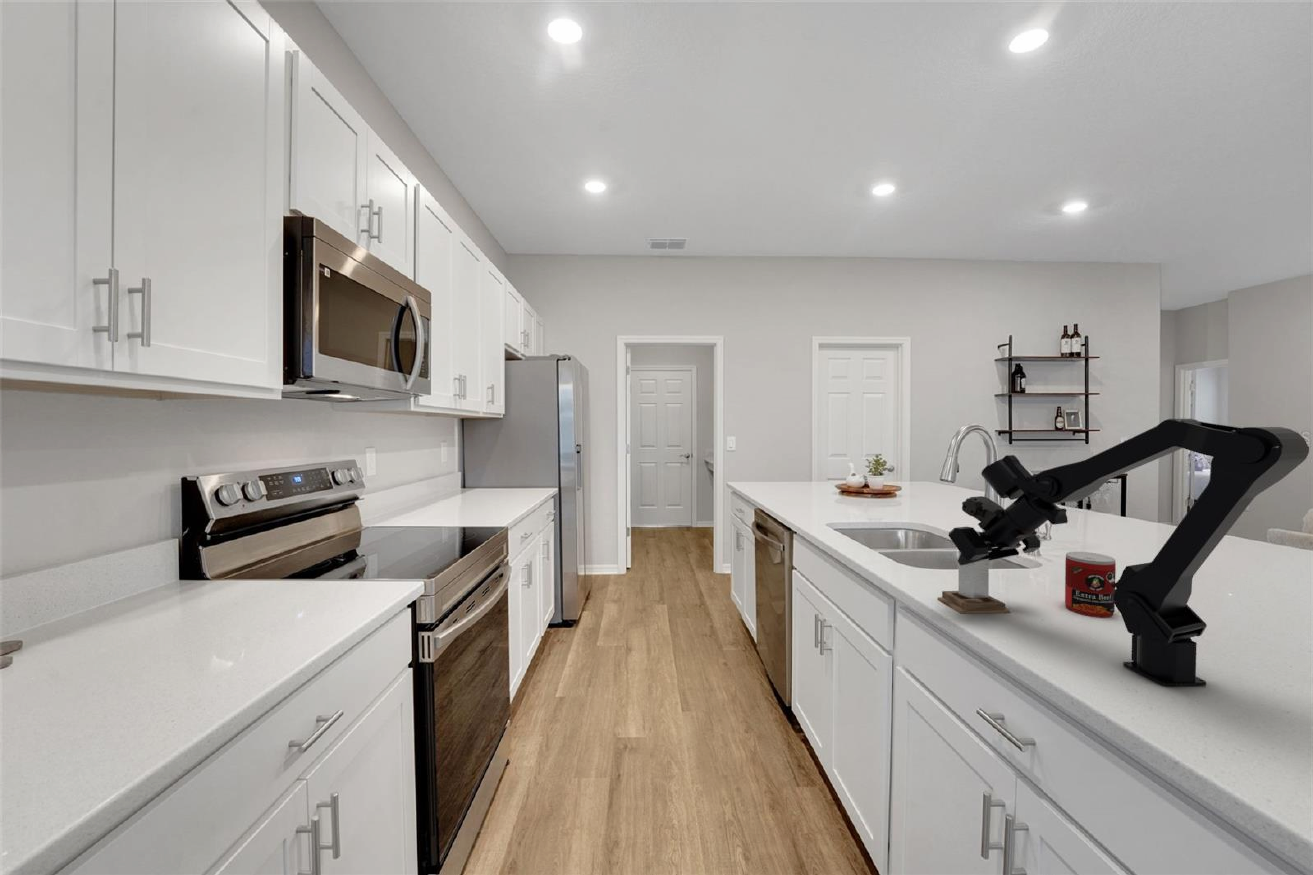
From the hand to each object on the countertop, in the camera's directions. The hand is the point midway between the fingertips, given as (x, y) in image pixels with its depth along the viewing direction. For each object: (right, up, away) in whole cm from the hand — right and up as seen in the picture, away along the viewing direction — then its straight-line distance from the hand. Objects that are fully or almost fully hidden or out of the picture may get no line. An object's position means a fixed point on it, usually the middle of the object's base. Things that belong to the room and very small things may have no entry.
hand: (967, 562), depth 106 cm
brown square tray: (0, -9, -1) cm, 9 cm away
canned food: (+22, -9, -4) cm, 24 cm away
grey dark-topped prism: (+1, -7, -1) cm, 7 cm away
